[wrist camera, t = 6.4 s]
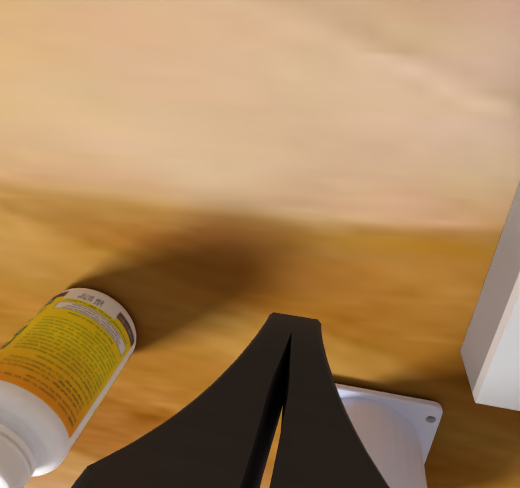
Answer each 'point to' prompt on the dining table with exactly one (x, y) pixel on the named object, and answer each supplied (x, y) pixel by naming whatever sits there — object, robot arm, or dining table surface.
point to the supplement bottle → (58, 379)
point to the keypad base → (498, 324)
